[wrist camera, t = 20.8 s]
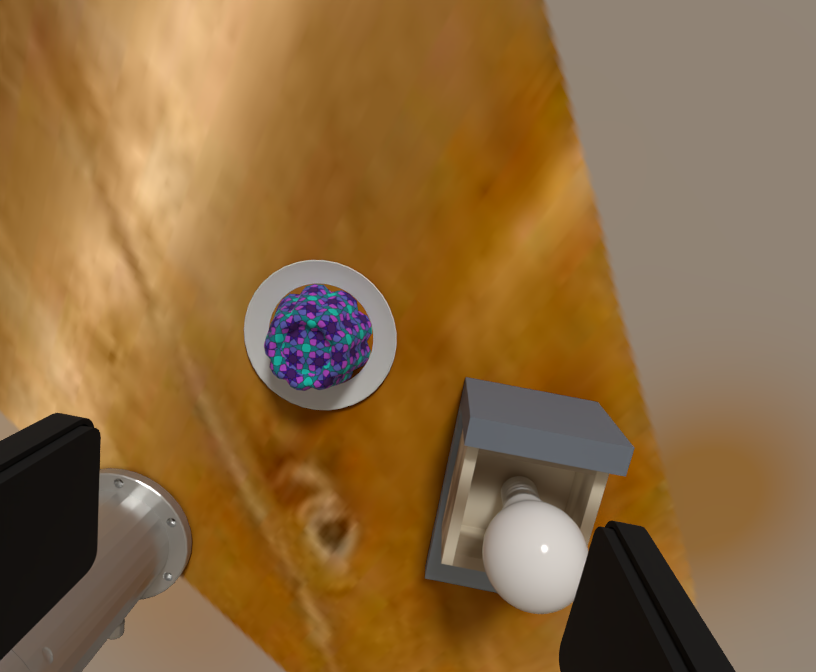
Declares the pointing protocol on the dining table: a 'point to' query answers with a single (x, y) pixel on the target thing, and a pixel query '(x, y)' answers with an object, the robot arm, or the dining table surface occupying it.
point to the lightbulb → (533, 551)
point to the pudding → (319, 335)
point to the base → (526, 446)
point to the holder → (481, 498)
